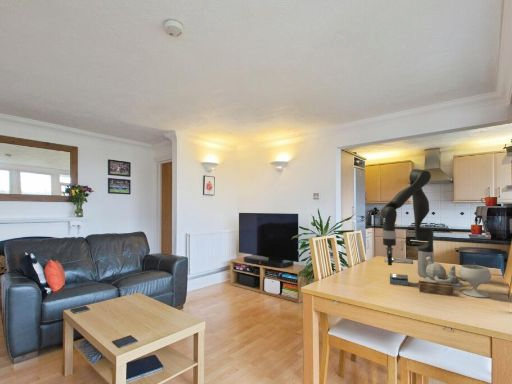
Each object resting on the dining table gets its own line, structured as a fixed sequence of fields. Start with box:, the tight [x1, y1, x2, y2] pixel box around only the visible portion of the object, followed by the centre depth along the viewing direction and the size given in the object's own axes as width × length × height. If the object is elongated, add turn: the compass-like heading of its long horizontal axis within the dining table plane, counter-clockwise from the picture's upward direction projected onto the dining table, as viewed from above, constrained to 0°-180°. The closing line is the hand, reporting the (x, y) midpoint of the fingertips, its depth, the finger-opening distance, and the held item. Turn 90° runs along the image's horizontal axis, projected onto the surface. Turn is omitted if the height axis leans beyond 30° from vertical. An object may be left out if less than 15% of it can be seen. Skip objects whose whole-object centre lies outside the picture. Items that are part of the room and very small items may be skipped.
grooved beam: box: [418, 280, 455, 297], centre depth 156 cm, size 16×7×5 cm, turn 62°
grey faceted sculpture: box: [422, 257, 464, 289], centre depth 174 cm, size 20×15×15 cm
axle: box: [384, 257, 414, 265], centre depth 174 cm, size 16×3×3 cm, turn 63°
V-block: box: [389, 273, 409, 287], centre depth 174 cm, size 10×10×5 cm
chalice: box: [458, 264, 492, 298], centre depth 152 cm, size 14×14×15 cm
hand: (390, 264), depth 176 cm, fingers closed on axle, 2 cm apart
